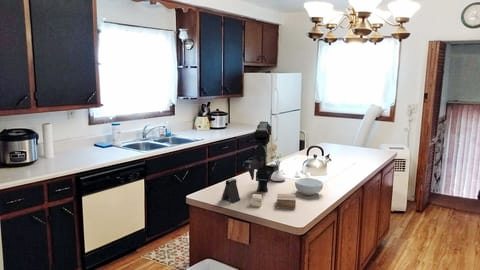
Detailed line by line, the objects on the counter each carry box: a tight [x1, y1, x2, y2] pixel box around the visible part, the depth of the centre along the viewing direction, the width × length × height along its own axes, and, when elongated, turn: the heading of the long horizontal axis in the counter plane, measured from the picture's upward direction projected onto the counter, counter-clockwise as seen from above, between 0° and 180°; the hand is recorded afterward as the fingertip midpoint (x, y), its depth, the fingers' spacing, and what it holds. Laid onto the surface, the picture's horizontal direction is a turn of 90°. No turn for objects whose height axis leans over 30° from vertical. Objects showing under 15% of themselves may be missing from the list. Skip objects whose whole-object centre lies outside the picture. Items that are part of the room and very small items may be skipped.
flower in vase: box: [267, 143, 286, 182], centre depth 251 cm, size 13×11×25 cm
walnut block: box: [276, 192, 297, 210], centre depth 205 cm, size 10×10×5 cm
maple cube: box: [251, 193, 263, 207], centre depth 205 cm, size 5×5×5 cm
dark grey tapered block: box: [221, 178, 241, 204], centre depth 211 cm, size 9×6×12 cm, turn 50°
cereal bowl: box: [294, 177, 324, 196], centre depth 227 cm, size 17×17×7 cm
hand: (260, 181), depth 201 cm, fingers open, 9 cm apart
